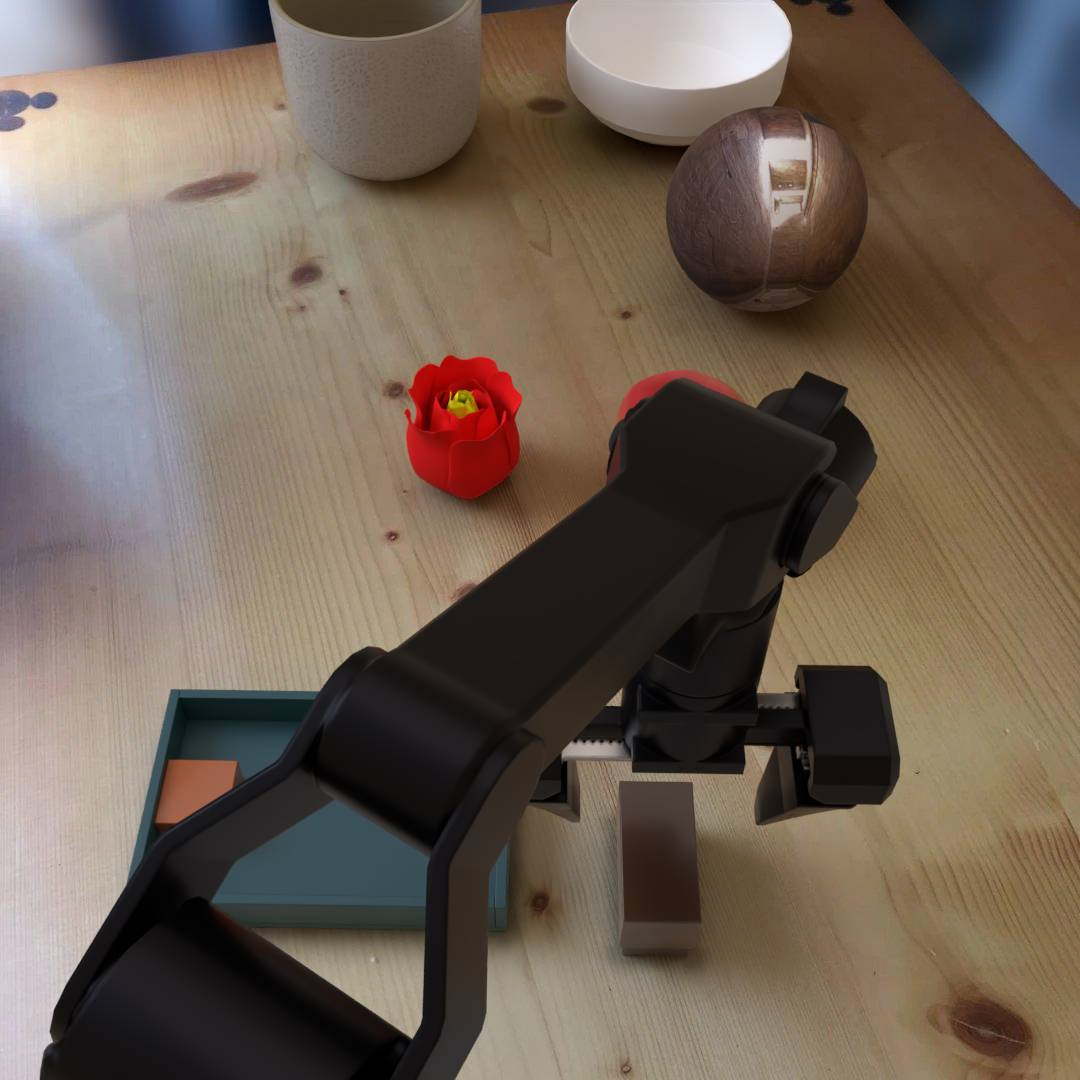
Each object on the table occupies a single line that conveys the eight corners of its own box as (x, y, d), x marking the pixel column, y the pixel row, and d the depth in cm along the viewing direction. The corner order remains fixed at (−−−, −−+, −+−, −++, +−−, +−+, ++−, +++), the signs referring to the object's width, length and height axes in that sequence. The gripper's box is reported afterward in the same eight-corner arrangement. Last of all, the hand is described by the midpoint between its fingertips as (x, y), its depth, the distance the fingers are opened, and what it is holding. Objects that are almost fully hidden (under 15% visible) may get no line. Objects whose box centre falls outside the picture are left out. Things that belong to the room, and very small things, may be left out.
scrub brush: (617, 959, 70) (622, 921, 66) (614, 822, 75) (619, 780, 71) (692, 960, 70) (701, 923, 66) (684, 823, 75) (692, 781, 71)
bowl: (577, 46, 127) (580, -38, 120) (781, 63, 125) (794, -22, 118) (550, 166, 114) (551, 79, 108) (775, 186, 113) (790, 99, 106)
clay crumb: (161, 839, 73) (153, 823, 72) (175, 776, 76) (168, 758, 74) (232, 840, 73) (226, 824, 72) (244, 777, 76) (237, 760, 74)
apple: (729, 565, 87) (749, 464, 79) (591, 532, 88) (597, 430, 81) (757, 462, 92) (778, 359, 85) (627, 433, 94) (635, 329, 86)
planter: (341, 229, 109) (318, 62, 97) (265, 126, 118) (235, -38, 106) (520, 169, 114) (518, 5, 102) (433, 75, 123) (423, -86, 111)
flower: (541, 488, 91) (542, 406, 85) (445, 534, 88) (438, 454, 82) (482, 419, 95) (479, 337, 89) (389, 462, 92) (379, 380, 86)
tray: (135, 925, 71) (121, 902, 68) (181, 716, 79) (170, 688, 77) (507, 931, 71) (506, 908, 68) (513, 721, 79) (513, 693, 77)
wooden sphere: (703, 370, 98) (726, 206, 87) (631, 250, 107) (642, 86, 95) (881, 328, 101) (926, 163, 90) (796, 214, 110) (827, 51, 99)
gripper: (894, 493, 58) (832, 682, 71) (478, 487, 58) (488, 676, 71) (938, 707, 51) (861, 875, 64) (465, 700, 52) (478, 869, 64)
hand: (667, 814), depth 66 cm, fingers open, 9 cm apart
